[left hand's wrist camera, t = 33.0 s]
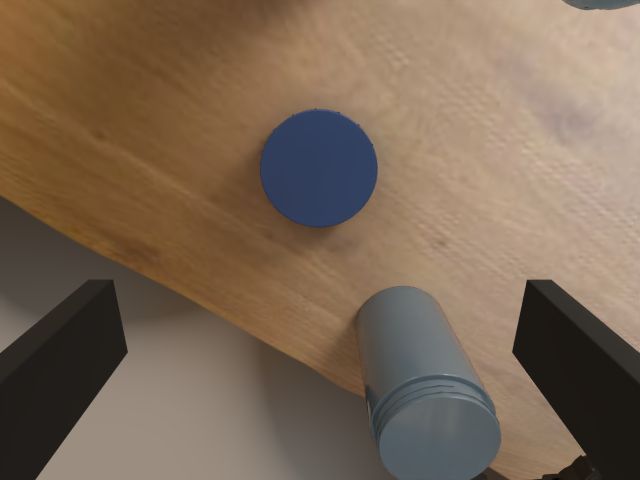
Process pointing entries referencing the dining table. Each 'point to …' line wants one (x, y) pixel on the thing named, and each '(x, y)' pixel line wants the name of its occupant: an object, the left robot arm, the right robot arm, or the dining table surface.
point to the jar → (422, 390)
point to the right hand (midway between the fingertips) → (485, 419)
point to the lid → (318, 168)
